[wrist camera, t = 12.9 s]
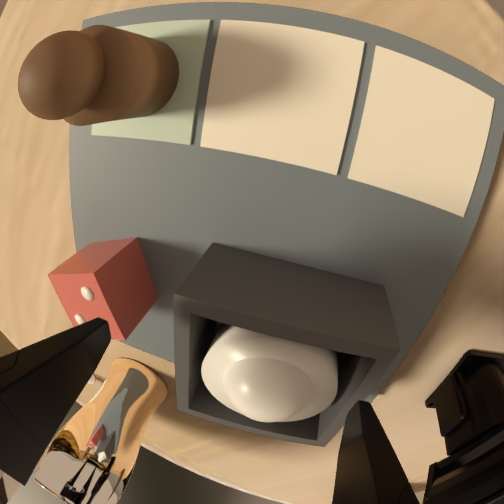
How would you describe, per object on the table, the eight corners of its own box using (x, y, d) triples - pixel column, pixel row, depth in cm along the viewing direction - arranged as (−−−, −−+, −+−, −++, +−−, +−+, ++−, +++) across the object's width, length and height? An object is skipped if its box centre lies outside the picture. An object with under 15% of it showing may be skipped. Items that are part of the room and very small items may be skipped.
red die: (137, 237, 15) (92, 273, 12) (158, 297, 17) (124, 341, 14) (90, 243, 16) (47, 275, 13) (111, 296, 18) (76, 334, 15)
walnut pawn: (186, 38, 10) (80, 1, 4) (171, 121, 12) (58, 143, 6) (116, 41, 10) (7, 30, 5) (105, 114, 12) (-5, 138, 6)
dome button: (356, 315, 13) (362, 389, 9) (315, 392, 16) (308, 454, 12) (225, 283, 14) (190, 348, 10) (214, 367, 17) (189, 424, 13)
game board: (495, 90, 9) (570, 93, 4) (365, 393, 19) (366, 461, 14) (99, 23, 11) (23, 11, 6) (101, 317, 22) (60, 365, 17)
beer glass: (99, 360, 25) (22, 469, 12) (133, 346, 23) (40, 486, 10) (145, 404, 27) (86, 512, 14) (186, 397, 24) (122, 533, 11)
